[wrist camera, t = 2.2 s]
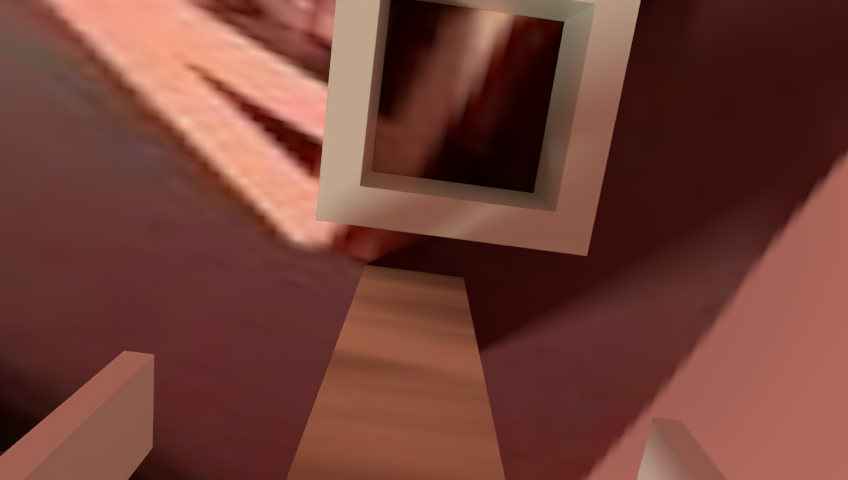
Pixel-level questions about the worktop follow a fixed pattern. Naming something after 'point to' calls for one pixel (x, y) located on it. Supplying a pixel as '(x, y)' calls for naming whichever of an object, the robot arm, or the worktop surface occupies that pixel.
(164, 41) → the worktop surface
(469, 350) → the wooden square peg
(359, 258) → the worktop surface
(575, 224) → the cream square open box
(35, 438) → the robot arm
